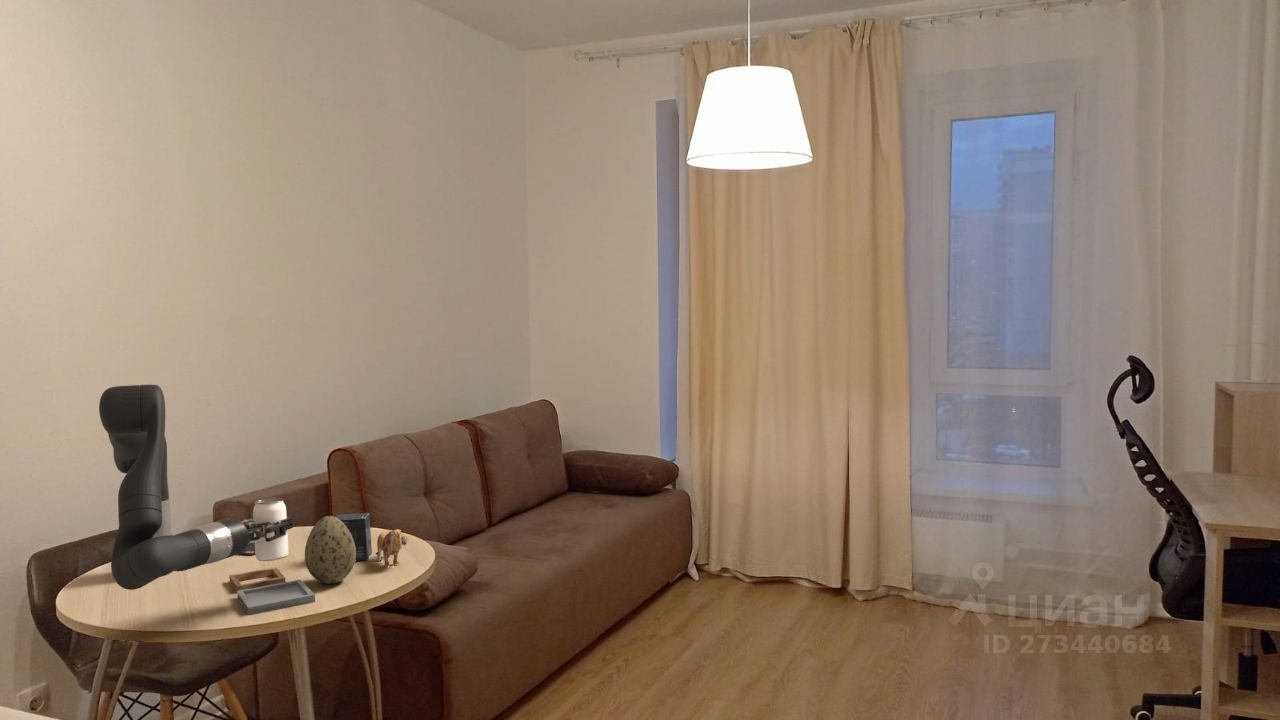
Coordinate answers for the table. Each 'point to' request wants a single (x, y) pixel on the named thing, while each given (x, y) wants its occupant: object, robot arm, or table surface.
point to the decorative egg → (330, 551)
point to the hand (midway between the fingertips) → (280, 521)
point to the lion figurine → (390, 545)
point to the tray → (275, 596)
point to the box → (359, 533)
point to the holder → (256, 574)
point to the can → (264, 512)
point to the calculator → (249, 550)
